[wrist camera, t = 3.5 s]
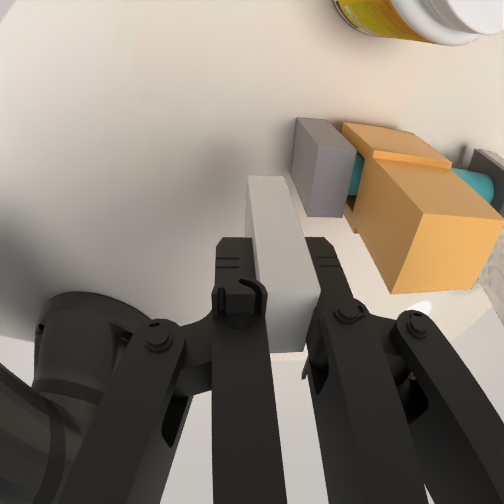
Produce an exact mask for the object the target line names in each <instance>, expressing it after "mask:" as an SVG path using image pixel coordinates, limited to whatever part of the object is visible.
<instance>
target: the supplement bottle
mask: <svg viewBox="0 0 504 504" xmlns="http://www.w3.org/2000/svg"><path fill="white" fill-rule="evenodd" d="M334 3H335V5H336V7H337V9H338V11H339V12H340V14H341V15H342V17H343V18H344V19H345V20H346V21H347V22H348V23H349V24H350V25H352V26H353V27H354V28H356V29H357V30H359V31H361V32H363V33H366V34H369V35H372V36H378V37H387V38H398V39H406V40H414V41H421V42H427V43H433V44H439V45H446V46H462V45H466V44H469V43H471V42H473V41H475V40H476V39H477V38H478V37H479V36H480V35H481V34H482V35H495V34H498V33H500V32H501V31H503V30H504V0H334Z"/></svg>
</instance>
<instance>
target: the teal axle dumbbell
mask: <svg viewBox="0 0 504 504" xmlns="http://www.w3.org/2000/svg"><path fill="white" fill-rule="evenodd" d="M356 152H357V149H356V148H355V147H354V146H353V145H352V144H351V143H350V142H349V141H348V140H347V139H346V138H345V137H344V136H343V135H342V134H341V133H340V132H339V131H338V130H337V129H336V128H335V127H334V126H333V125H332V124H331V123H330V122H329V121H327V120H321V119H310V118H298V117H297V121H296V130H295V139H294V148H293V157H292V165H291V176H292V179H293V181H294V184H295V186H296V189H297V191H298V194H299V196H300V199H301V201H302V204H303V207H304V209H305V212H306V214H307V217H336V218H342V217H343V212H344V208H345V204H346V199H347V195H357V193H358V189H359V184H360V180H361V175H362V171H363V166H364V162H365V158H364V157H363V156H362V155H361V154H356ZM451 170H452V171H453V172H454V173H455V174H457V175H458V176H459V177H460V178H461V179H462V180H464V181H465V182H466V183H467V184H468V185H469V186H470V187H471V188H473V189H474V190H475V191H476V192H477V193H478V194H479V195H480V196H481V197H482V198H483V199H484V200H486V201H487V202H488V203H489V204H490V205H491V206H492V207H493V208H494V209H495V210H496V211H497V212H498V213H499V214H500V215H501V216H502V217H503V218H504V159H503V158H502V157H500V156H499V155H498V154H495V153H492V152H489V151H485V150H482V149H480V150H476V149H474V153H473V156H472V159H471V162H470V166H469V169H468V171H467V170H462V169H457V168H452V167H451ZM503 228H504V227H503Z"/></svg>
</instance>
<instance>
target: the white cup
mask: <svg viewBox="0 0 504 504" xmlns="http://www.w3.org/2000/svg"><path fill="white" fill-rule="evenodd" d="M478 279H479V281H480V283H481V286H482V288H483V290H484V291H485V293H486V295H487V296H488V298H489V300H490V302H491V304H492V306H493V308H494V309H495V311H496V313H497V315H498V316H499V318H500V320H501V322H502V324H503V326H504V228H503V229H502V231H501V233H500V235H499V237H498V240H497V242H496V244H495V246H494V248H493V250H492V252H491V254H490V256H489V257H488V259H487V261H486V263H485V265H484V267H483V269H482V271H481V272H480V274H479V276H478Z"/></svg>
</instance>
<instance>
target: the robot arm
mask: <svg viewBox="0 0 504 504" xmlns="http://www.w3.org/2000/svg"><path fill="white" fill-rule="evenodd" d="M245 236H246V238H245V237H223V238H222V239H221V241H220V242H219V243H218V245H217V246H216V263H215V286H214V288H213V291H212V294H211V296H212V310H211V311H210V313H209V314H208V315H207V316H206V317H204V318H203V319H201V320H200V321H197V322H195V323H192V324H188V325H184V326H179V325H178V324H176V323H175V322H173V321H170V320H168V319H154V320H150V319H148V318H147V317H146V316H144V315H143V314H141V313H140V312H138V311H137V310H135V309H133V308H131V307H130V306H128V305H126V304H123V303H121V302H119V301H116V300H114V299H111V298H108V297H104V296H100V295H96V294H90V293H77V292H76V293H66V294H61V295H58V296H56V297H54V298H52V299H50V300H49V301H48V302H47V303H46V304H45V306H44V308H43V310H42V312H41V314H40V316H39V319H38V321H37V324H36V329H35V351H34V380H33V383H32V387H30V386H28V385H27V384H26V383H25V382H23V381H22V380H21V379H19V378H18V377H17V376H16V375H14V374H13V373H12V372H10V371H9V370H8V369H7V368H6V367H5V366H3V365H2V364H1V363H0V504H160V501H161V497H162V494H163V491H164V488H165V484H166V481H167V478H168V475H169V472H170V468H171V465H172V462H173V459H174V456H175V452H176V449H177V446H178V443H179V440H180V437H181V434H182V430H183V427H184V424H185V421H186V418H187V415H188V412H189V408H190V405H191V402H192V399H193V396H194V395H196V394H200V393H203V392H206V391H210V390H212V470H213V471H212V474H213V504H287V497H286V488H285V479H284V471H283V462H282V453H281V445H280V437H279V428H278V419H277V411H276V402H275V393H274V386H273V377H272V369H271V360H270V353H286V352H303V350H304V347H305V343H306V344H307V349H308V357H307V360H306V363H305V366H304V369H303V371H302V379H305V378H306V375H308V381H309V387H310V392H311V398H312V403H313V408H314V414H315V420H316V426H317V432H318V438H319V443H320V450H321V456H322V462H323V468H324V475H325V481H326V488H327V494H328V501H329V504H429V503H428V499H427V495H426V490H425V486H426V488H427V490H428V492H429V494H430V496H431V497H432V499H433V501H434V503H435V504H504V423H503V421H502V420H501V418H500V416H499V415H498V413H497V412H496V410H495V409H494V407H493V405H492V404H491V402H490V401H489V399H488V398H487V396H486V394H485V393H484V391H483V390H482V389H481V387H480V385H479V384H478V383H477V381H476V380H475V378H474V377H473V375H472V374H471V372H470V371H469V369H468V368H467V367H466V365H465V364H464V362H463V361H462V359H461V358H460V357H459V355H458V354H457V353H456V351H455V350H454V348H453V347H452V346H451V344H450V343H449V342H448V340H447V339H446V337H445V336H444V335H443V333H442V332H441V331H440V330H439V328H438V327H437V326H436V324H435V323H434V322H433V321H432V320H431V319H430V318H429V317H428V316H427V315H426V314H424V313H422V312H420V311H415V310H407V311H404V312H402V313H401V314H400V315H399V317H398V318H397V320H393V319H389V318H384V317H379V316H376V315H372V314H370V313H369V311H368V309H367V308H366V306H365V305H364V304H363V303H361V302H360V301H359V300H357V299H354V297H353V295H352V292H351V289H350V287H349V284H348V282H347V279H346V277H345V274H344V272H343V269H342V267H341V264H340V262H339V259H337V254H336V252H335V249H334V247H333V246H332V245H331V244H330V243H329V242H328V241H327V240H326V239H325V238H324V237H304V234H303V231H302V228H301V225H300V222H299V219H298V216H297V213H296V210H295V207H294V204H293V201H292V198H291V195H290V193H289V190H288V187H287V184H286V181H285V178H284V176H252V175H248V180H247V200H246V220H245ZM424 484H425V486H424Z"/></svg>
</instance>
